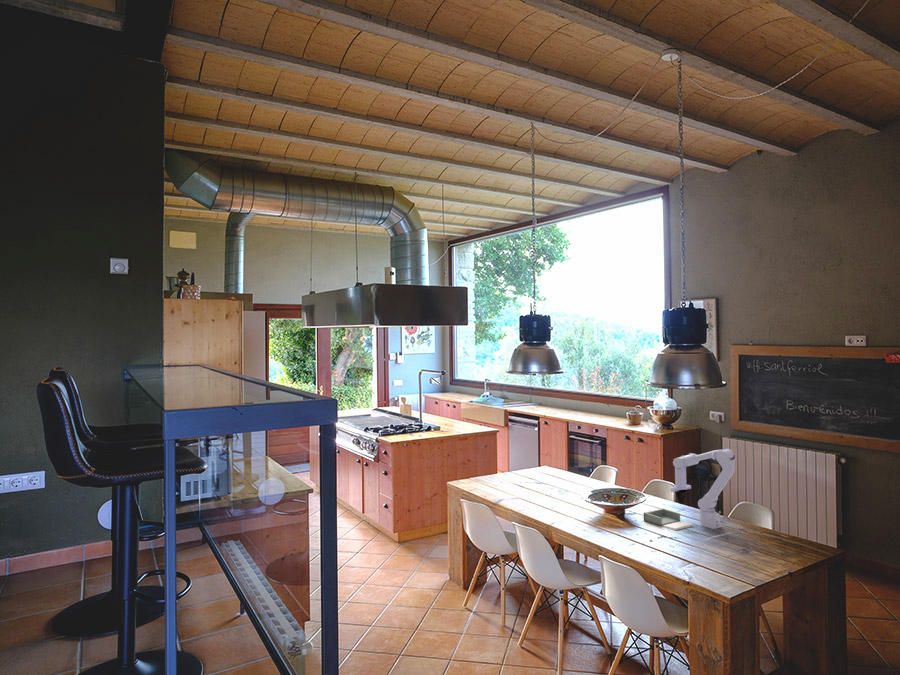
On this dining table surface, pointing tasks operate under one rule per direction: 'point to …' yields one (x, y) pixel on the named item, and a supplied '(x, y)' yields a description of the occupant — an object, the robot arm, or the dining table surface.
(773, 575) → the dining table surface
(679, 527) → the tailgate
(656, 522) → the cart bed
